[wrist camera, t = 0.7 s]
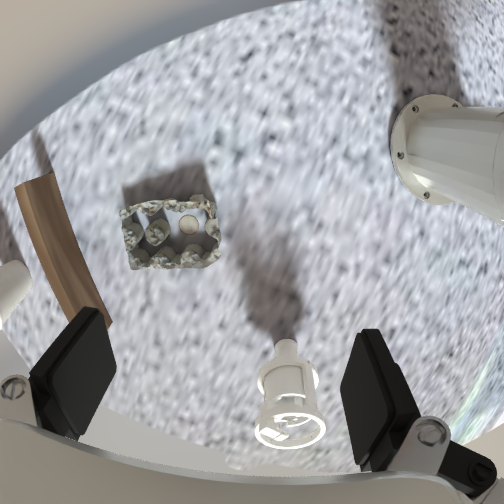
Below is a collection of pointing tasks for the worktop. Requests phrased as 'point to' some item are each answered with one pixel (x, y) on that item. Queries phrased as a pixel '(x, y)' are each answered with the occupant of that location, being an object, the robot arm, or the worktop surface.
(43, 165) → the worktop surface
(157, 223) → the egg carton
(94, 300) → the walnut board
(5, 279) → the dixie cup
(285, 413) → the white plastic bottle
